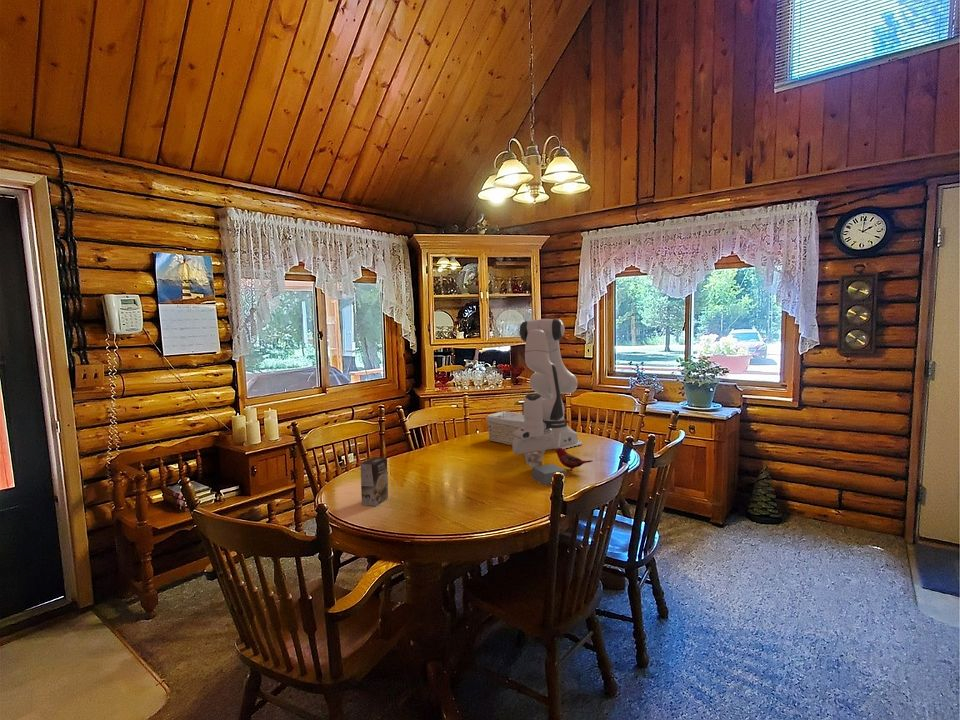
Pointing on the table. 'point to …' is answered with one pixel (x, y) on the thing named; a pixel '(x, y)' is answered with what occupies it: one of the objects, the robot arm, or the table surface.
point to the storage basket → (504, 426)
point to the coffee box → (374, 481)
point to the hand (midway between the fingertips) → (534, 460)
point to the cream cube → (534, 459)
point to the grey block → (545, 473)
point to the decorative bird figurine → (569, 459)
